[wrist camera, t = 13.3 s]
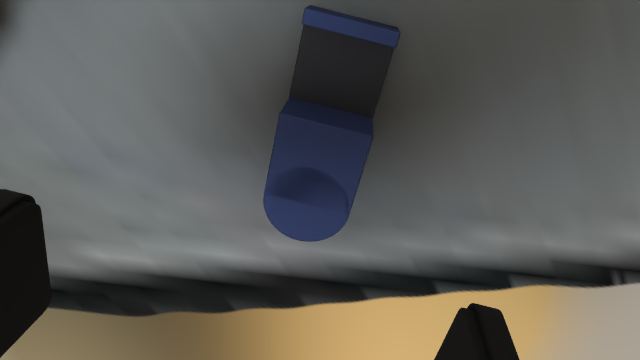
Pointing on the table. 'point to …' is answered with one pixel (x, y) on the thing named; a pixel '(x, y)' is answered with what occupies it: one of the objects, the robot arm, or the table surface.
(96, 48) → the table surface
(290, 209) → the navy rounded-end tab
